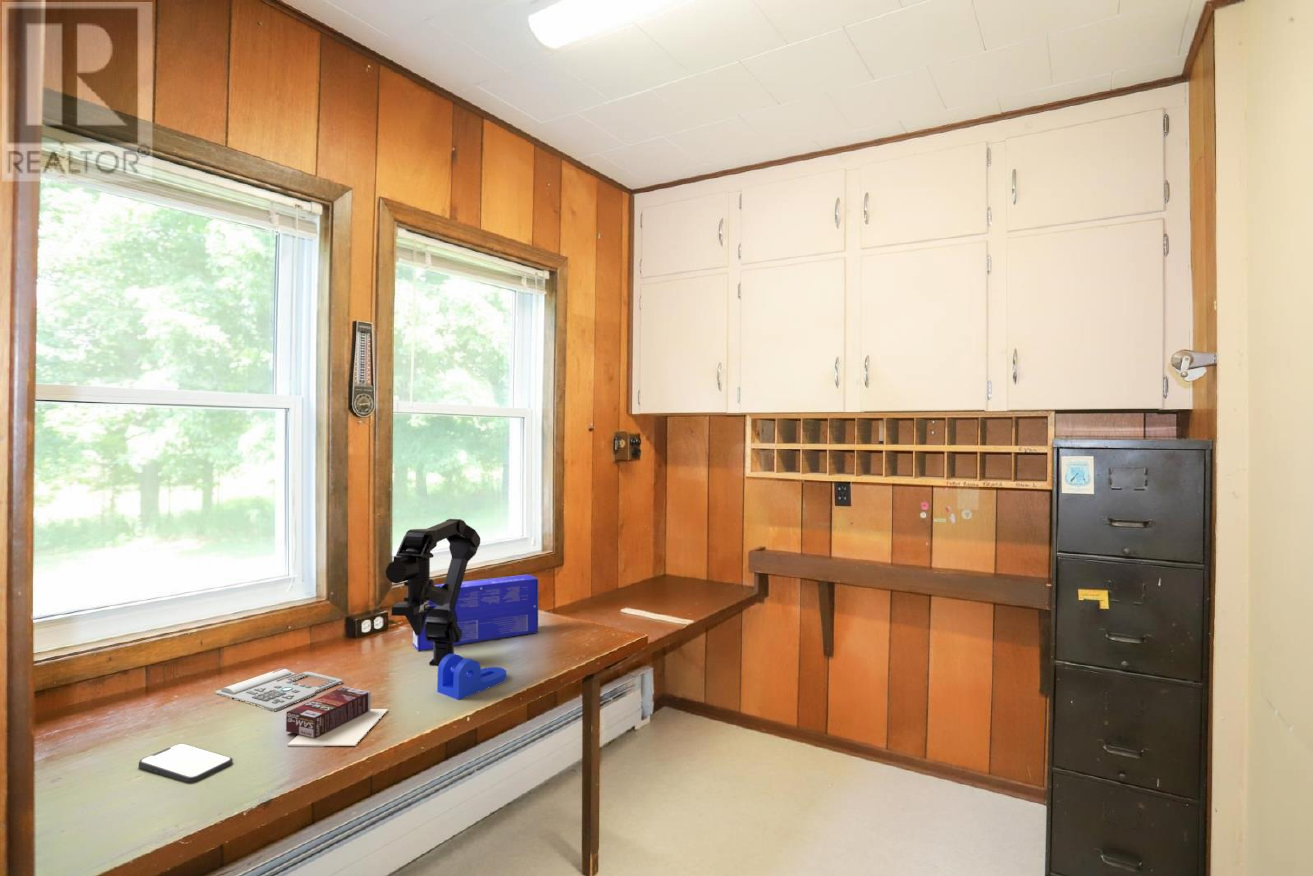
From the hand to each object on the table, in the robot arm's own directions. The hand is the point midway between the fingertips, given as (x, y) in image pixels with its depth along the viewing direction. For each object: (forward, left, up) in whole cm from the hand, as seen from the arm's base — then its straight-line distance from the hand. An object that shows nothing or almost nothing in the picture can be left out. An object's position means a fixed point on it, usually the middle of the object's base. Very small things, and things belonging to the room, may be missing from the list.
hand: (418, 635), depth 175 cm
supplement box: (+19, -8, -9) cm, 22 cm away
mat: (+29, -7, -12) cm, 32 cm away
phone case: (+46, -30, -13) cm, 56 cm away
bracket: (+3, +16, -12) cm, 21 cm away
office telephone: (+7, -32, -13) cm, 35 cm away
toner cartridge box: (-36, +7, -12) cm, 39 cm away
